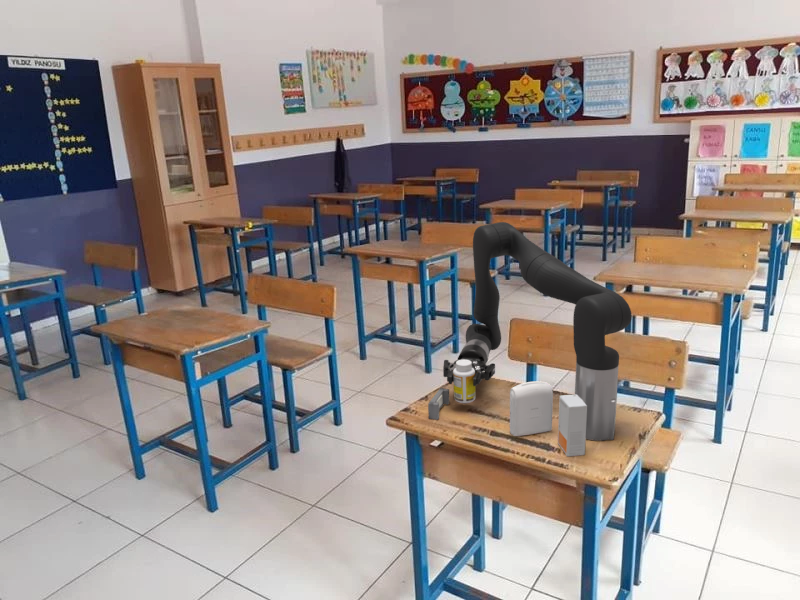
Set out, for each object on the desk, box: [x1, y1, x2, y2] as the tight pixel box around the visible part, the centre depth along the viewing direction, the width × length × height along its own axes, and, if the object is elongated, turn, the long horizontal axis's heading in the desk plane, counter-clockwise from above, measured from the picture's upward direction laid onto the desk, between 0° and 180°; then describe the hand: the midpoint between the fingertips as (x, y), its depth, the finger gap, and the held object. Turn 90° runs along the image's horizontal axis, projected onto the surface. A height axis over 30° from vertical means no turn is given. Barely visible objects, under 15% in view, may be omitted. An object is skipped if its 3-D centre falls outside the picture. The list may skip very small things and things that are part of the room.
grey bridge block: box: [427, 387, 450, 421], centre depth 160 cm, size 2×10×4 cm, turn 159°
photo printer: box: [509, 380, 554, 437], centre depth 147 cm, size 10×4×12 cm, turn 103°
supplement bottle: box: [452, 359, 477, 404], centre depth 159 cm, size 6×6×10 cm
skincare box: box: [557, 393, 587, 457], centre depth 138 cm, size 6×4×12 cm
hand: (462, 381), depth 157 cm, fingers closed on supplement bottle, 5 cm apart
